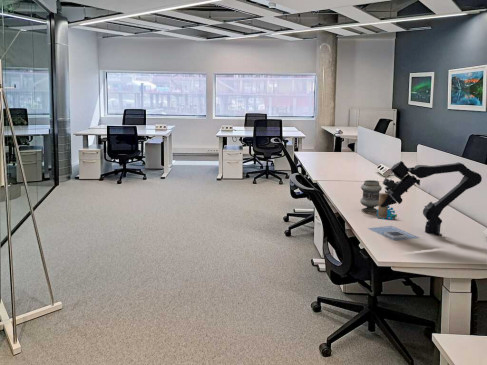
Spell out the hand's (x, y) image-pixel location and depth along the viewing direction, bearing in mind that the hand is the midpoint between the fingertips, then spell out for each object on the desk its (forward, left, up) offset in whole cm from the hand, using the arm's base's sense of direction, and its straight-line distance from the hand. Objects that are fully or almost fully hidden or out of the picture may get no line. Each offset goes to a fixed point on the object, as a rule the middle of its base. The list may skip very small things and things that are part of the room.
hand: (380, 205), depth 243 cm
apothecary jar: (-21, -39, -14) cm, 47 cm away
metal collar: (0, +13, -12) cm, 18 cm away
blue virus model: (-18, -18, -14) cm, 29 cm away
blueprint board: (-3, +7, -13) cm, 16 cm away
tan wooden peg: (-1, +1, -6) cm, 6 cm away
